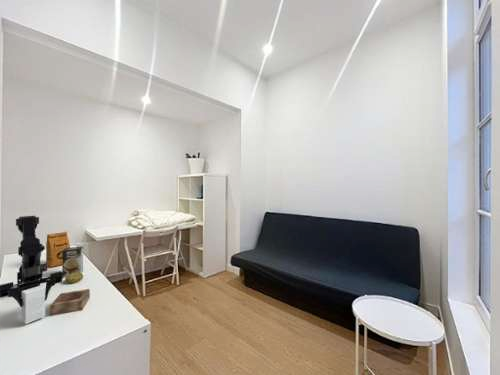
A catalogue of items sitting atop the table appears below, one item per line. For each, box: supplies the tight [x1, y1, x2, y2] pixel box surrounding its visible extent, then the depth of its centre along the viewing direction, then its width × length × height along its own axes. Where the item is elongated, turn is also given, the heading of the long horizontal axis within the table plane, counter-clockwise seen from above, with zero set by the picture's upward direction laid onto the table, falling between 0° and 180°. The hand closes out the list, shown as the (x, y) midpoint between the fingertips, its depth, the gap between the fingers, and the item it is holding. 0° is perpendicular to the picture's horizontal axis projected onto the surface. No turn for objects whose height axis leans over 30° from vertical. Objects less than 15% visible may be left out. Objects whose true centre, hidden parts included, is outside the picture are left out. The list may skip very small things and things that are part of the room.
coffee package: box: [45, 231, 71, 268], centre depth 150 cm, size 10×12×22 cm
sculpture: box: [64, 273, 84, 285], centre depth 124 cm, size 8×4×8 cm
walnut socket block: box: [49, 288, 91, 317], centre depth 98 cm, size 11×11×4 cm
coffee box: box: [61, 245, 84, 278], centre depth 134 cm, size 9×6×16 cm
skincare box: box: [21, 285, 46, 325], centre depth 88 cm, size 6×4×12 cm
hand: (33, 303), depth 87 cm, fingers closed on skincare box, 6 cm apart
